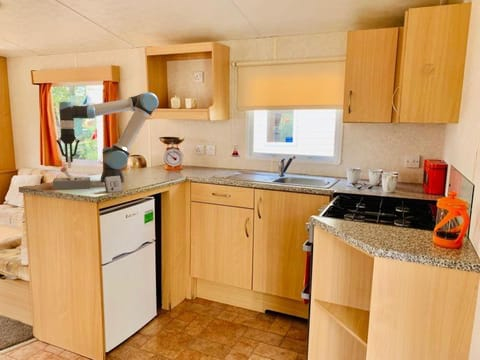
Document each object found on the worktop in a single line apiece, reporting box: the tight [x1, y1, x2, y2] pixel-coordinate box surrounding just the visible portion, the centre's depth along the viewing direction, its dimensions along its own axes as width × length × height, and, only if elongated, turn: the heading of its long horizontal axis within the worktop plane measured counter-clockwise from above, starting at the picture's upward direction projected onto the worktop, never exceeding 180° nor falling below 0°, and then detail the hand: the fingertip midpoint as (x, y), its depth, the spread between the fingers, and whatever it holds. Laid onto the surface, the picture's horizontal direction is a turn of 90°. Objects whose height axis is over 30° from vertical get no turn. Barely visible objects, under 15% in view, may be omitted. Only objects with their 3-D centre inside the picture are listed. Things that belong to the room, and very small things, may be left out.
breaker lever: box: [60, 166, 76, 180], centre depth 219 cm, size 3×6×10 cm
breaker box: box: [52, 176, 91, 191], centre depth 221 cm, size 20×13×5 cm, turn 112°
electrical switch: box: [104, 176, 123, 194], centre depth 211 cm, size 9×5×9 cm, turn 141°
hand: (69, 167), depth 220 cm, fingers closed
